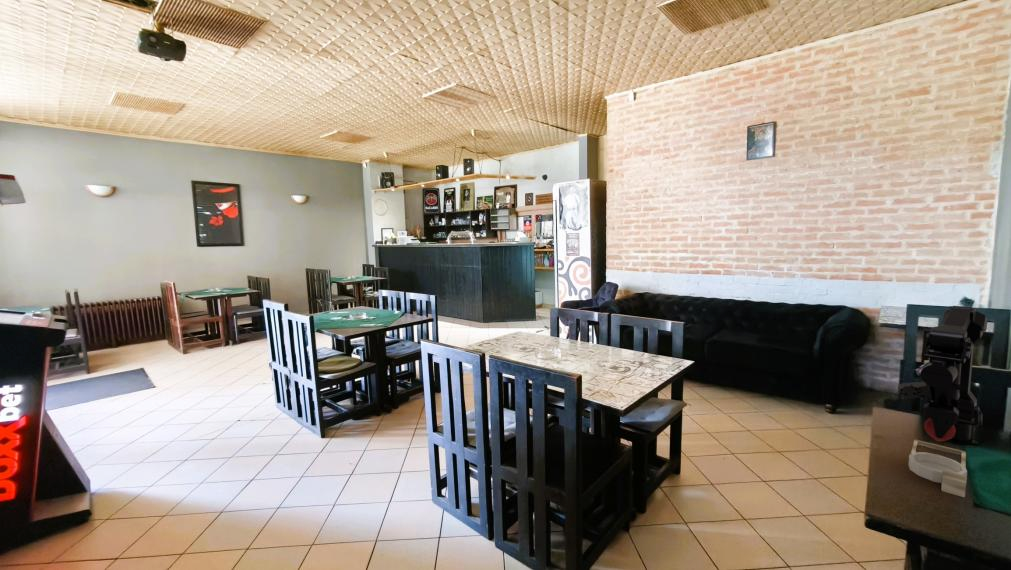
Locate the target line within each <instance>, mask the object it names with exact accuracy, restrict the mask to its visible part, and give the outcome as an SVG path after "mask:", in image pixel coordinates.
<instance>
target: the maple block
mask: <svg viewBox="0 0 1011 570" xmlns="http://www.w3.org/2000/svg"><path fill="white" fill-rule="evenodd" d="M940 484H941V486H940V487H941V492H944V493H948V494H951V495H955V496H958V497H962V498H966V489H967V480H966V476H965V475H961V474H957V473H953V472H949V471H945V470H942V482H941V483H940Z"/></svg>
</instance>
